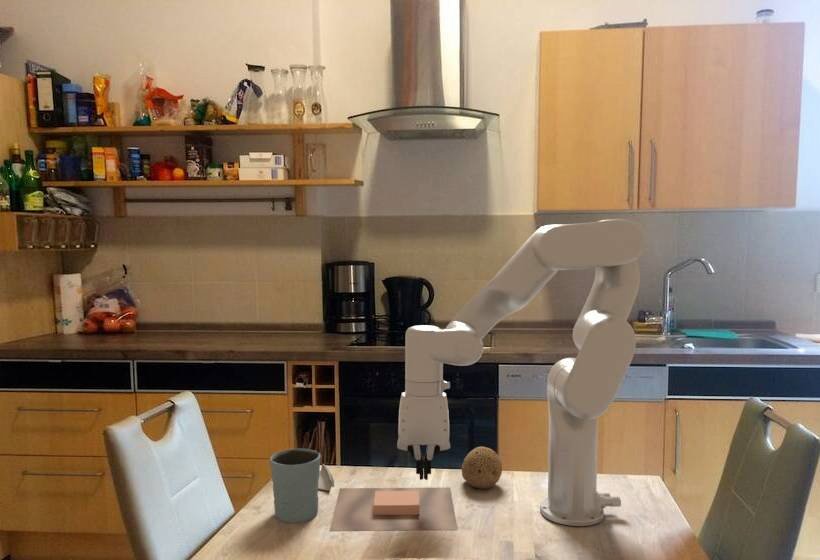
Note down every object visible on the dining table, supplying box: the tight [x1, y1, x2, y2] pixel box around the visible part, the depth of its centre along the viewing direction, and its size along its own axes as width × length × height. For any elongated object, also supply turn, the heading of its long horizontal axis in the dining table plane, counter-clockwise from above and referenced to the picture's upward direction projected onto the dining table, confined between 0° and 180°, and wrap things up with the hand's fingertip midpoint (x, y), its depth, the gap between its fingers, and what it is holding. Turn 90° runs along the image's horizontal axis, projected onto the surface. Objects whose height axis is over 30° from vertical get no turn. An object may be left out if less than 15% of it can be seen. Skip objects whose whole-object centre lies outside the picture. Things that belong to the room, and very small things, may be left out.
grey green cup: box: [269, 448, 321, 524], centre depth 130 cm, size 10×10×12 cm
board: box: [329, 486, 459, 532], centre depth 130 cm, size 24×20×2 cm
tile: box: [374, 491, 419, 515], centre depth 129 cm, size 2×7×9 cm
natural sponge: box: [461, 446, 503, 490], centre depth 140 cm, size 9×9×10 cm
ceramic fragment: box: [318, 463, 335, 493], centre depth 146 cm, size 14×5×4 cm, turn 18°
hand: (423, 477), depth 129 cm, fingers closed
